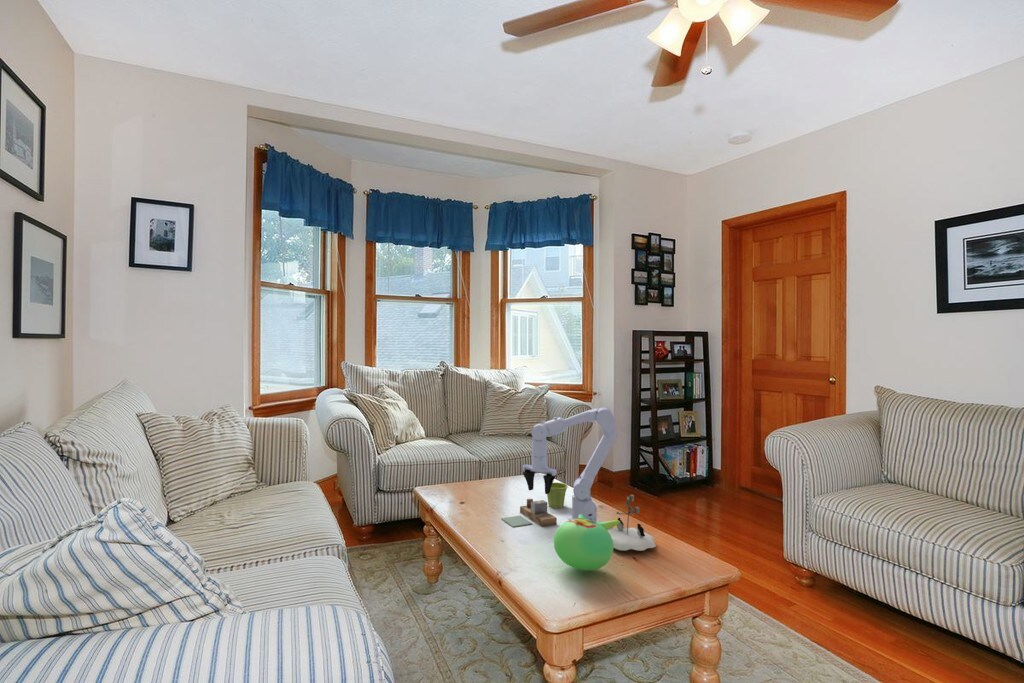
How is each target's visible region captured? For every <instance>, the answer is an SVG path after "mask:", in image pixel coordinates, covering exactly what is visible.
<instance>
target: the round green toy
mask: <svg viewBox="0 0 1024 683" xmlns="http://www.w3.org/2000/svg"><path fill="white" fill-rule="evenodd" d="M619 523H620V521H619V520H618V519H613V520H606V521H599V522H598V521H597V522H594V521H592V520H588V519H586V518H585V517H584V516H583V515H581V514H580V515H579V516H578V518H577V519H572V520H567V521H565V522H563V523H562V524H561V525H560V526H558V528H557V529H556V531H555V534H554V538H553V546H554V550H555V553H556V555H557V556H558V557H559V559H560V560H561V561H562V562H563V563H564V564H566V565H567V566H569V567H572V568H573V569H576V570H580V571H596V570H598V569H600V568H603V567H604V566H605V565H607V564H608V563H609V562H610V560H611V558H612V556H613V553H614V549H615V548H614V546H613V540H612V537H611V535H610V533H609V532H608V531H607V530H609V529H613V528H614V527H617V525H618V524H619Z"/></svg>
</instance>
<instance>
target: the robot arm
mask: <svg viewBox="0 0 1024 683" xmlns="http://www.w3.org/2000/svg"><path fill="white" fill-rule="evenodd" d="M586 422H589V423H592V424H596V422H597V424H598V425H599V427H600V429H601V432H602V436H601V438H600V440H599V442H598V444H597V445H596V448H595V449H594V451H593V453H592V455H591V456H590V458H589V460H588V462H587V464H586V466H585V468H584V469H583V471H582V472H581V473H580V475H579V477H577V478H576V479H575V480H574V482H573V489H572V490H573V494H572V496H571V498H572V499H571V500H572V501H571V505H572V506H571V511H572V513H571V517H568V518H567V521H569V520H572V519H577V518H578V516H579V515H580V514H581V515H583V516H584V517H585V518H586V519H588V520H592V521H594V522H598V519H597V517H598V516H597V515H598V514H597V513H598V512H597V505H596V504H595V502H594V501H593V499H592V495H591V488H592V485H593V484H594V481H595V478H596V476H597V475H598V473H599V470H600V469H601V467H602V465H603V463H604V461H605V460H606V457H607V456H608V454H609V452H610V451H611V449H612V447H613V445H614V443H615V441H616V439H617V437H618V436H617V435H618V434H617V424H616V419H615V417H614V414H613V413H612V411H611V410H610V408H608V407H606V406H600V407H599V408H595V407H594V408H591V409H588V410H585V411H582V412H580V413H577V414H575V415H572V416H569V417H567V418H563V417H557V416H554V417H553V419H550V420H548V421H541V423H537V424H535V425H534V426H533V428H532V429H531V437H532V439H531V440H532V441H531V442H532V443H531V464H523V465H522V467H521V468H522V471H523V472H522V475H523V476H524V479H525V481H526V484H527V488H528V491H533V490H534V483H535V482H534V480H535V473H539V474H544V475H543V476H542V478H543V481H544V494H545V495H547V494H548V493H550V489H551V485H552V483H554V480H555V479H556V476H557V473H558V472H557V469H555V468H551V467H548V443H547V437H553V436H556V435H558V434H562V433H565V432H566V430H567V428H569V427H572V426H576V425H579V424H582V423H586Z"/></svg>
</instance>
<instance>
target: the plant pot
mask: <svg viewBox="0 0 1024 683" xmlns="http://www.w3.org/2000/svg"><path fill="white" fill-rule="evenodd" d="M568 488H569V487H568V484H566V483H562V482H553V483H552V485H551V489H550V493H548V494H546V497H547V506H548V507H549V508H553V509H561V508H564V507H565V497H566V491H567V489H568Z"/></svg>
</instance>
